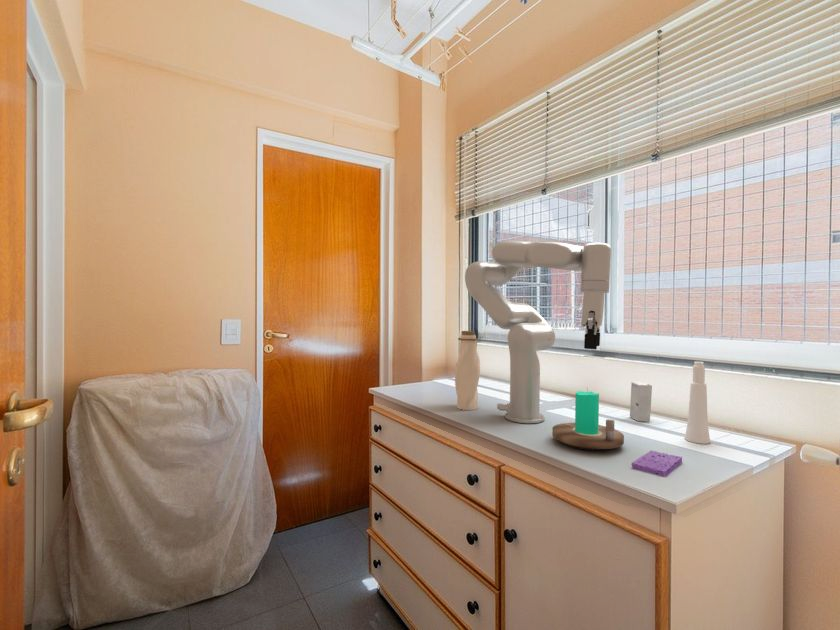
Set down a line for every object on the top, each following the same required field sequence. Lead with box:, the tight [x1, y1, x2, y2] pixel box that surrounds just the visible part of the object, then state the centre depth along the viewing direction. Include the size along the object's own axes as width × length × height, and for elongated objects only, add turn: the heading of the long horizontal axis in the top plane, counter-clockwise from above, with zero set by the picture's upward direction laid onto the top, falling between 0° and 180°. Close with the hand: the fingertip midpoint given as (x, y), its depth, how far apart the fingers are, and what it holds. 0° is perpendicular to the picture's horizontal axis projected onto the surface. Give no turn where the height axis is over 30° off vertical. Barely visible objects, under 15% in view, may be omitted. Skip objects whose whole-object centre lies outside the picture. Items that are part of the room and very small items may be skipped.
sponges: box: [631, 449, 683, 477], centre depth 98 cm, size 7×13×2 cm, turn 133°
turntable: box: [551, 418, 625, 450], centre depth 114 cm, size 18×18×7 cm
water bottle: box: [454, 330, 481, 411], centre depth 154 cm, size 10×9×28 cm
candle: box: [574, 387, 600, 435], centre depth 114 cm, size 6×6×12 cm
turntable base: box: [566, 444, 608, 452], centre depth 114 cm, size 12×12×1 cm
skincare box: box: [629, 381, 653, 422], centre depth 139 cm, size 6×4×12 cm
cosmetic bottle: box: [684, 361, 711, 445], centre depth 117 cm, size 6×6×22 cm
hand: (592, 347), depth 120 cm, fingers open, 9 cm apart
